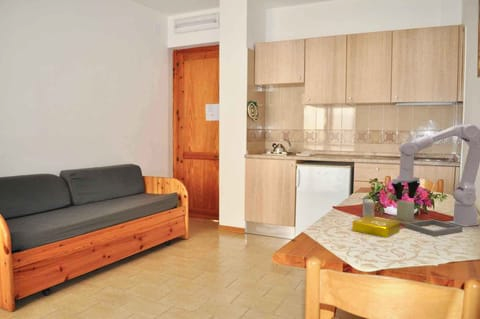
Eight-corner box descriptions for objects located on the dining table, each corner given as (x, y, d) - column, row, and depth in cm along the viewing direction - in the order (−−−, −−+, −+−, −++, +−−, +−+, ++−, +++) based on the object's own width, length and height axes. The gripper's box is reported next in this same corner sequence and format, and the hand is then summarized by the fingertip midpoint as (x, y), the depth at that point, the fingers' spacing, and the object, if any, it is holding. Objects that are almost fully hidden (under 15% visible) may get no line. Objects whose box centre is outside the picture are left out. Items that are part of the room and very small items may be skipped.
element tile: (401, 231, 161) (401, 220, 160) (386, 239, 150) (386, 226, 149) (366, 224, 171) (367, 214, 171) (350, 231, 160) (350, 220, 160)
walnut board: (404, 216, 184) (404, 214, 184) (426, 222, 173) (426, 220, 173) (382, 219, 178) (382, 217, 178) (403, 226, 167) (403, 223, 167)
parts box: (402, 217, 179) (403, 200, 178) (413, 220, 173) (414, 202, 173) (396, 218, 177) (397, 201, 176) (407, 221, 172) (407, 203, 171)
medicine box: (374, 221, 175) (374, 202, 175) (363, 220, 176) (364, 202, 175) (371, 217, 183) (372, 199, 182) (362, 216, 184) (362, 198, 183)
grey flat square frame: (432, 223, 172) (432, 219, 172) (462, 231, 160) (462, 226, 159) (404, 227, 165) (405, 223, 165) (433, 236, 152) (433, 231, 152)
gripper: (410, 167, 180) (409, 195, 181) (387, 168, 174) (386, 198, 175) (423, 168, 174) (422, 198, 175) (400, 170, 168) (398, 201, 169)
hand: (405, 198), depth 175 cm, fingers open, 7 cm apart
